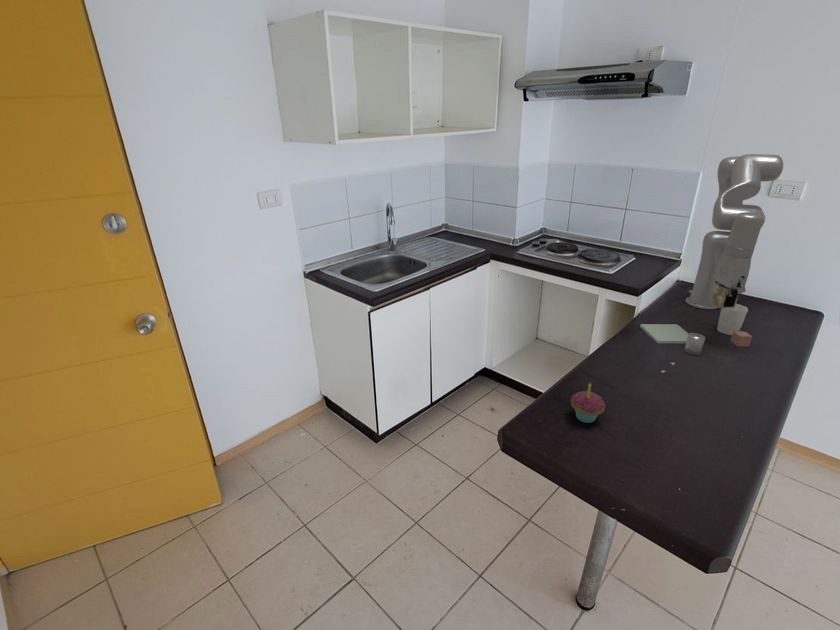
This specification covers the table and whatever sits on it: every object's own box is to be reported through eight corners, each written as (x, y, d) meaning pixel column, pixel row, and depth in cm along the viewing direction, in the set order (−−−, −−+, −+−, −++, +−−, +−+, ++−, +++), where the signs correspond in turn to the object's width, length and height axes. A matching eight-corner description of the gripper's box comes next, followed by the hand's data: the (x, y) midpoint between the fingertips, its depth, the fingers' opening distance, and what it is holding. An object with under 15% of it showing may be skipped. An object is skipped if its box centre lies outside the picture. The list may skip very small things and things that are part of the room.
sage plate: (639, 326, 169) (640, 324, 169) (676, 326, 169) (677, 324, 169) (657, 343, 156) (658, 340, 156) (697, 343, 156) (697, 341, 156)
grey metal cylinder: (681, 348, 153) (685, 332, 151) (695, 348, 153) (699, 332, 151) (689, 355, 149) (693, 339, 146) (703, 355, 149) (708, 339, 146)
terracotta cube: (730, 341, 158) (733, 331, 156) (741, 341, 158) (744, 331, 156) (737, 346, 154) (740, 336, 153) (748, 346, 154) (752, 336, 153)
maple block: (710, 302, 153) (716, 283, 150) (725, 302, 153) (731, 283, 150) (719, 308, 148) (725, 288, 146) (734, 308, 148) (740, 288, 146)
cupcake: (598, 431, 112) (606, 391, 107) (564, 420, 116) (570, 381, 111) (605, 414, 119) (613, 375, 114) (573, 404, 123) (579, 366, 118)
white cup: (717, 334, 163) (724, 309, 159) (713, 325, 170) (720, 301, 166) (742, 337, 161) (750, 312, 157) (737, 329, 167) (745, 304, 163)
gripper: (711, 244, 151) (697, 294, 158) (744, 259, 135) (727, 313, 143) (733, 244, 151) (718, 294, 158) (769, 259, 135) (750, 313, 143)
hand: (723, 302), depth 150 cm, fingers closed on maple block, 4 cm apart
